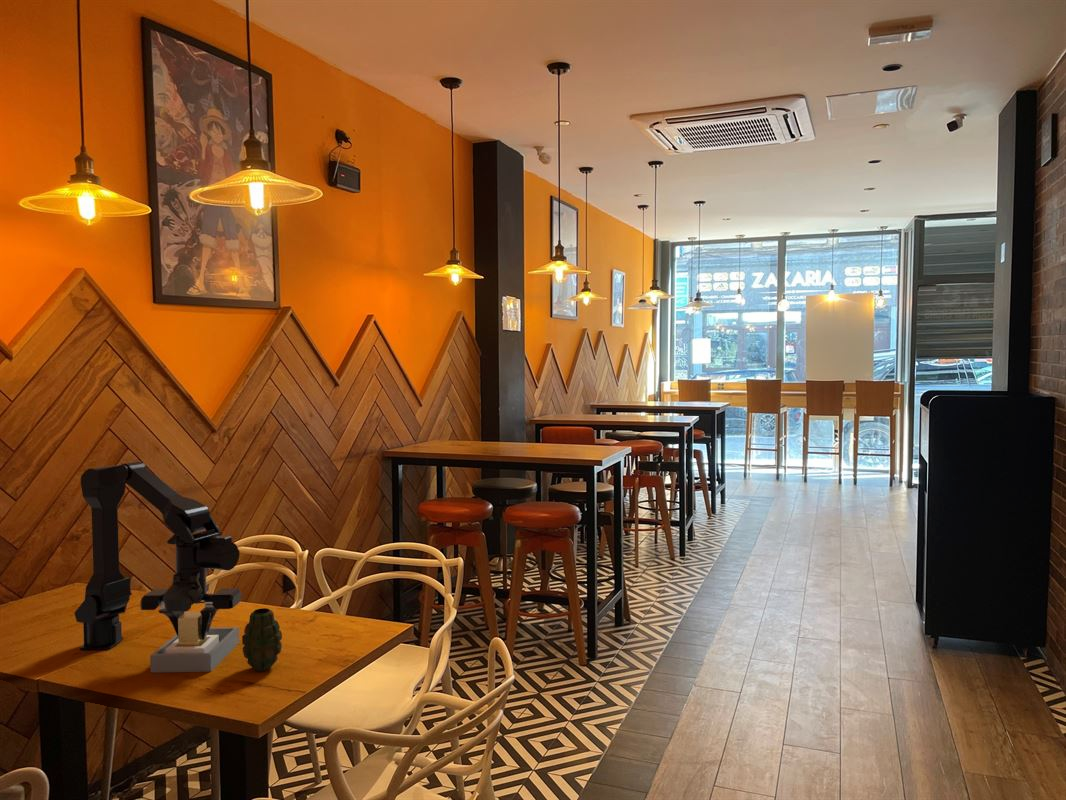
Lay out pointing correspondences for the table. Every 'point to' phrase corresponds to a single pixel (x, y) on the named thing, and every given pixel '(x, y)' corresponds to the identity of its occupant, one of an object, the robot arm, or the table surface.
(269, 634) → the grenade
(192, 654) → the walled frame
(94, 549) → the robot arm
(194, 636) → the peg
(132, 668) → the table surface
